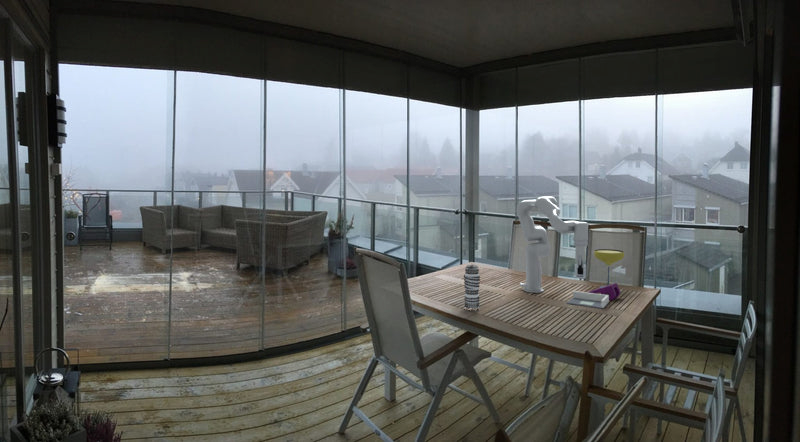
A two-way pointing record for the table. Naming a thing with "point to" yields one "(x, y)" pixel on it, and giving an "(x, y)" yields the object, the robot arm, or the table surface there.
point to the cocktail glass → (608, 257)
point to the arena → (589, 299)
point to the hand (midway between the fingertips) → (580, 274)
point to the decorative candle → (471, 286)
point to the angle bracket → (579, 274)
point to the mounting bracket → (608, 291)
